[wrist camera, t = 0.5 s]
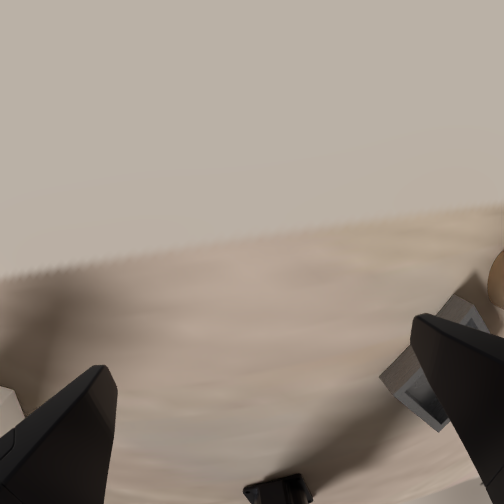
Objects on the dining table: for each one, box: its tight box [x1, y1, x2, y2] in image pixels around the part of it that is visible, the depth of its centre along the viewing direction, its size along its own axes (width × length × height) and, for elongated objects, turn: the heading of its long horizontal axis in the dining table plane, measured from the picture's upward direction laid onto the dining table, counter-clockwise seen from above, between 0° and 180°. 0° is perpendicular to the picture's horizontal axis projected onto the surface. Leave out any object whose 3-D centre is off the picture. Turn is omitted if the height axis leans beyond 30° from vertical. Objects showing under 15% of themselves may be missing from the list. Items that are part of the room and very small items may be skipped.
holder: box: [379, 294, 490, 433], centre depth 24 cm, size 10×10×3 cm
